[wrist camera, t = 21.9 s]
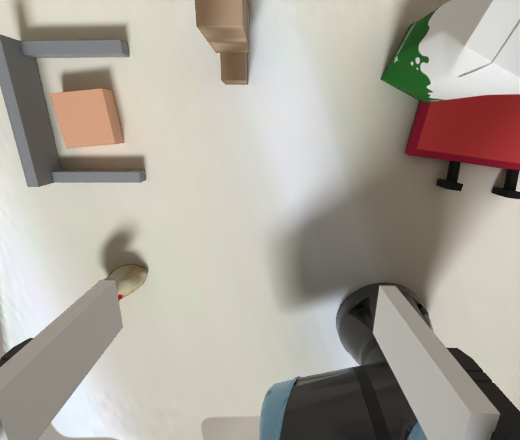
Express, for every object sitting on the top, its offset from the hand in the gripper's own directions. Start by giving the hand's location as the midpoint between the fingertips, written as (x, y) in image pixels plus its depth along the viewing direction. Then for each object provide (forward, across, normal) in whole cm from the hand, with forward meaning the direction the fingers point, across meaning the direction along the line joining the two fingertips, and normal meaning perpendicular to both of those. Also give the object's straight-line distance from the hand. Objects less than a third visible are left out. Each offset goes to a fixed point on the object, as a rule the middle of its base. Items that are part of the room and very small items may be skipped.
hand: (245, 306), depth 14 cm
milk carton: (+30, -20, -17) cm, 40 cm away
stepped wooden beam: (+30, +4, -20) cm, 36 cm away
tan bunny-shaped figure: (+31, +23, +16) cm, 42 cm away
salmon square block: (+30, +24, -10) cm, 40 cm away
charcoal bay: (+30, +24, -10) cm, 40 cm away
